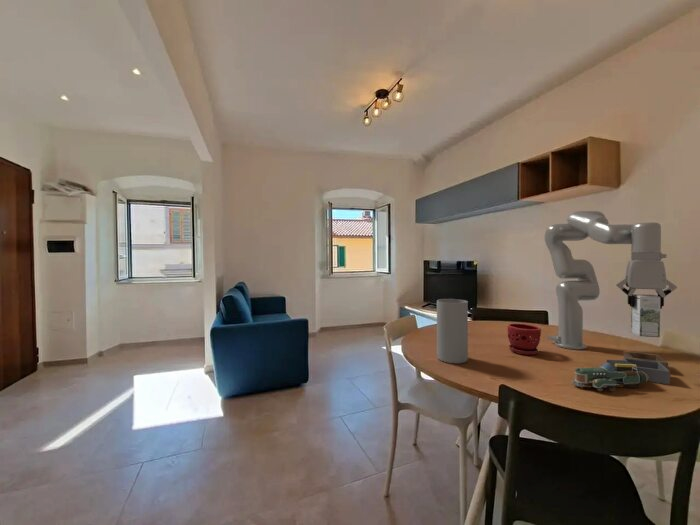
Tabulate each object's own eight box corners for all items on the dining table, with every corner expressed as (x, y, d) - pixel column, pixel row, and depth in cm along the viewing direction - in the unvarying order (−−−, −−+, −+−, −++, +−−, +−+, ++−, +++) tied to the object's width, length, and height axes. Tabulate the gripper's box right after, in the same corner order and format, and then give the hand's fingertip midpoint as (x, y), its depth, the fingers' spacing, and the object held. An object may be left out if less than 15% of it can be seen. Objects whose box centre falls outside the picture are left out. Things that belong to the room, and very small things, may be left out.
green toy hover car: (564, 381, 106) (564, 358, 105) (634, 380, 106) (634, 357, 106) (586, 394, 96) (586, 368, 96) (662, 392, 96) (663, 366, 96)
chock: (616, 381, 105) (616, 364, 105) (606, 376, 110) (606, 359, 110) (636, 382, 104) (636, 365, 104) (625, 377, 109) (625, 360, 109)
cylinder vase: (431, 359, 129) (431, 301, 128) (444, 352, 138) (444, 298, 138) (460, 366, 120) (460, 304, 120) (472, 358, 130) (472, 300, 129)
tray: (629, 378, 107) (629, 366, 107) (622, 369, 116) (622, 357, 116) (669, 384, 102) (670, 371, 102) (659, 374, 111) (659, 362, 110)
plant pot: (535, 358, 129) (535, 330, 128) (502, 351, 139) (502, 325, 138) (544, 352, 137) (544, 325, 137) (514, 346, 147) (514, 321, 147)
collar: (630, 368, 117) (630, 358, 117) (623, 360, 125) (623, 350, 125) (668, 373, 111) (668, 362, 111) (658, 364, 120) (658, 354, 120)
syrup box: (650, 333, 110) (650, 294, 110) (660, 337, 105) (660, 296, 105) (630, 332, 112) (630, 293, 112) (639, 336, 107) (639, 295, 106)
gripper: (675, 257, 107) (675, 307, 107) (611, 257, 116) (611, 304, 116) (684, 257, 100) (684, 311, 101) (616, 257, 109) (615, 307, 110)
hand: (645, 306), depth 108 cm, fingers closed on syrup box, 6 cm apart
